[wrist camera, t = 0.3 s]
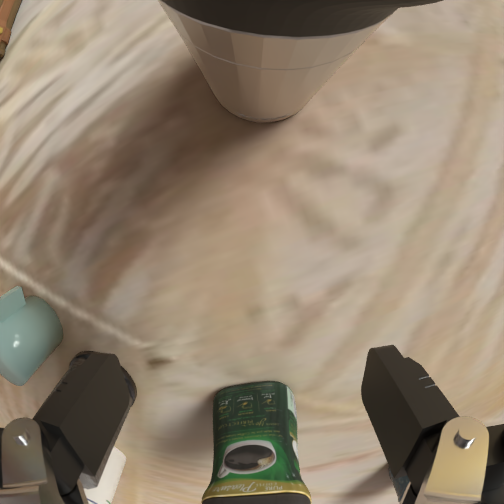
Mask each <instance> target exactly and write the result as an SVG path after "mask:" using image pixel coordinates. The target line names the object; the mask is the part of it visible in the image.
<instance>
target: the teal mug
mask: <svg viewBox="0 0 504 504" xmlns="http://www.w3.org/2000/svg"><path fill="white" fill-rule="evenodd" d="M62 339H63V330H62V326H61V323H60V321H59V318H58V317H57V315H56V313H55V312H54V310H53V309H52V308H51V307H50V305H49V304H48V303H46V302H45V301H44V300H43V299H41V298H39V297H37V296H28V297H26V298H25V299H24V295H23V291H22V287H20V286H16V287H14V288H13V289H11V290H10V291H8V292H7V293H5V294H4V295H2V296H1V297H0V374H1V375H2V376H3V377H4V378H5V379H7V380H8V381H9V382H11V383H13V384H15V385H18V386H22V385H24V384H25V383H26V382H27V380H28V379H29V378H30V377H31V376H32V375H33V373H34V372H35V371H36V370H37V369H38V368H39V367H40V365H41V364H42V363H43V362H44V361H45V360H46V359H47V357H48V356H49V355H50V354H51V353H52V352H53V351H54V350H55V349H56V347H57V346H58V345H59V344H60V343H61V341H62Z"/></svg>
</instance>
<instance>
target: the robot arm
mask: <svg viewBox="0 0 504 504" xmlns="http://www.w3.org/2000/svg"><path fill="white" fill-rule="evenodd" d="M158 1H159V3H160V4H161V6H162V7H163V9H164V11H165V12H166V14H167V15H168V17H169V19H170V20H171V22H172V23H173V24H174V26H175V28H176V29H177V31H178V33H179V34H180V36H181V38H182V39H183V41H184V43H185V44H186V46H187V48H188V49H189V51H190V53H191V55H192V56H193V58H194V60H195V61H196V63H197V65H198V67H199V68H200V70H201V72H202V74H203V75H204V77H205V79H206V81H207V82H208V84H209V86H210V88H211V90H212V91H213V93H214V95H215V97H216V98H217V100H218V101H219V102H220V103H221V105H222V106H223V107H224V108H226V109H227V110H228V111H229V112H230V113H232V114H234V115H236V116H238V117H239V118H242V119H245V120H248V121H252V122H261V123H265V122H276V121H279V120H283V119H286V118H288V117H290V116H292V115H294V114H296V113H297V112H298V111H299V110H301V109H302V108H303V107H304V106H305V105H306V104H307V103H308V101H309V100H310V99H311V98H312V97H313V96H314V95H315V94H316V93H317V92H318V91H319V90H320V89H321V87H322V86H323V85H324V84H325V83H326V82H327V81H328V80H329V79H330V78H331V76H332V75H333V74H334V73H335V72H336V71H337V70H338V69H339V68H340V67H341V66H342V65H343V64H344V63H345V62H346V60H347V59H348V58H349V57H350V56H351V55H352V54H353V53H354V52H355V51H356V50H357V49H358V48H359V47H360V46H361V45H362V44H363V43H364V42H365V40H366V39H367V38H368V37H369V36H370V35H371V34H372V33H373V32H374V31H375V30H376V29H377V28H378V27H379V26H380V25H381V24H382V23H383V22H384V21H385V20H386V19H387V18H388V17H389V16H390V15H391V14H393V12H394V11H395V10H397V9H398V8H400V7H411V6H419V5H425V4H430V3H435V2H439V1H442V0H158ZM361 395H362V401H363V404H364V406H365V409H366V411H367V413H368V416H369V418H370V420H371V423H372V425H373V427H374V430H375V432H376V435H377V437H378V440H379V442H380V444H381V447H382V449H383V452H384V454H385V457H386V459H387V462H388V464H389V467H390V469H391V472H392V475H393V477H394V479H396V478H400V477H403V476H406V475H407V476H408V478H409V480H410V482H409V484H408V485H407V488H406V490H405V492H404V495H403V497H402V499H401V501H400V504H504V424H501V425H496V426H490V427H485V425H484V424H483V423H482V422H480V421H479V420H477V419H475V418H472V417H467V416H462V417H460V416H459V415H458V414H457V412H456V411H455V410H454V408H453V407H452V405H451V404H450V403H449V401H448V400H447V399H446V397H445V396H444V395H443V393H442V392H441V391H440V389H439V388H438V387H437V386H435V383H434V381H433V380H432V379H431V377H429V375H428V373H427V372H426V371H425V369H424V368H423V367H422V366H421V365H420V364H419V363H417V362H415V361H414V360H412V359H411V358H409V357H408V358H404V357H403V356H402V355H401V353H400V352H399V351H398V349H397V348H396V347H395V346H394V345H388V346H382V347H376V348H371V349H370V350H369V352H368V356H367V361H366V367H365V372H364V377H363V381H362V387H361ZM129 400H130V395H129V389H128V387H127V384H126V381H125V378H124V375H123V372H122V369H121V366H120V363H119V360H118V358H117V356H116V355H114V354H108V353H99V352H93V353H92V354H91V355H90V356H89V357H88V358H87V360H86V361H85V362H84V363H83V365H80V366H78V367H77V368H75V369H74V370H72V371H71V372H69V374H68V375H67V376H66V377H65V378H64V380H63V381H62V384H61V383H60V385H59V386H58V387H57V388H56V392H55V391H54V392H53V393H52V395H51V396H50V397H49V398H48V400H47V401H46V402H45V404H44V405H43V406H42V407H41V409H40V410H39V411H38V413H37V414H36V415H35V417H34V418H33V419H30V418H19V419H16V420H13V421H12V422H10V423H9V424H8V425H7V426H6V427H5V428H0V504H89V503H88V500H87V498H86V495H85V492H84V489H83V486H82V483H81V481H80V480H79V479H78V478H79V476H80V474H81V473H84V474H87V475H90V476H93V477H95V476H96V473H97V471H98V469H99V467H100V465H101V462H102V460H103V458H104V456H105V454H106V451H107V449H108V447H109V445H110V443H111V441H112V439H113V437H114V434H115V432H116V430H117V428H118V426H119V424H120V422H121V420H122V418H123V416H124V414H125V412H126V410H127V408H128V405H129Z"/></svg>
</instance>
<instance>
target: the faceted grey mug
mask: <svg viewBox="0 0 504 504" xmlns="http://www.w3.org/2000/svg"><path fill="white" fill-rule="evenodd" d="M92 353H93V351H84V352H80V353H78V354H77V355H76V356H75V357H74V358H73V360H72V361H71V363H70V366H69V370H68V371H67V372H66V374H65V375H64V376H63V378H62V379H61V380H60V382H59V383H58V384H57V386H56V387H55V388H54V390H53V391H52V392H51V394H50V395H49V396H48V398H49V397H50V396H51V395H52V393H53V392H54V391H55V392H56V388H57V387H58V386H59V385H60V383H61V384H62V381H63V380H64V378H65V377H66V376H67V375H68V374H69V372H71V371H72V370H74V369H75V368H77V367H78V366H80V365H83V363H84V362H85V361H86V360H87V358H88V357H89V356H90V355H91V354H92ZM121 369H122V372H123V375H124V378H125V381H126V384H127V387H128V389H129V395H130V400H129V405H128V408H127V410H126V412H125V414H124V416H123V418H122V420H121V422H120V424H119V426H118V428H117V430H116V432H115V434H114V437H113V439H112V441H111V443H110V445H109V447H108V449H107V451H106V454H105V456H104V458H103V460H102V462H101V465H100V467H99V469H98V471H97V473H96V476H95V477H93V476H90V475H87V474H84V473H81V474H80V476H79V478H78V479H79V480H80V481H81V483H82V486H83V489H84V488H86V489H87V490H88V489H92V488H96V487H97V486H98V484H99V481H100V479H101V476H102V474H103V471H104V469H105V466H106V464H107V461H108V459H109V456H110V454H111V451H112V449H113V447H114V444H115V442H116V440H117V437H118V435H119V433H120V430H121V428H122V426H123V423H124V421H125V419H126V416H127V414H128V412H129V410H130V407H131V406H132V405H133V403H134V401H135V399H136V396H137V390H136V386H135V383H134V381H133V379H132V378H131V376H130V375H129V374H128V373H127V371H126V370H125V369H124V368H123V367H122V366H121ZM48 398H47V399H46V401H47V400H48ZM46 401H45V402H46ZM45 402H44V403H43V405H44V404H45ZM43 405H42V406H43ZM42 406H41V407H42ZM40 409H41V408H40ZM40 409H39V410H40ZM39 410H38V411H39ZM37 413H38V412H37ZM37 413H36V414H37ZM34 417H35V416H34Z"/></svg>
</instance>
